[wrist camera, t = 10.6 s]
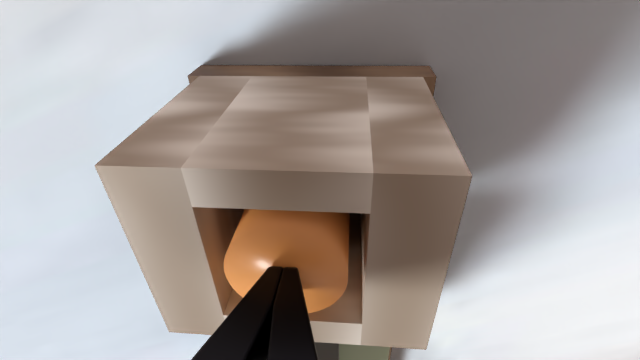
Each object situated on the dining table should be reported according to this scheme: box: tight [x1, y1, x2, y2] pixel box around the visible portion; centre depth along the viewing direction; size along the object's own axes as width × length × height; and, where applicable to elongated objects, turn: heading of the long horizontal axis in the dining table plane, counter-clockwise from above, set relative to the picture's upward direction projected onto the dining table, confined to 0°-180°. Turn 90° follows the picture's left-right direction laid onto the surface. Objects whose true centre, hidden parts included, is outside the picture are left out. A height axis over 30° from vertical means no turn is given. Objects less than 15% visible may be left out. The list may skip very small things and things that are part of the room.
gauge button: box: [224, 209, 350, 313], centre depth 12 cm, size 4×4×5 cm
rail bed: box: [95, 65, 472, 360], centre depth 20 cm, size 10×29×8 cm, turn 1°
